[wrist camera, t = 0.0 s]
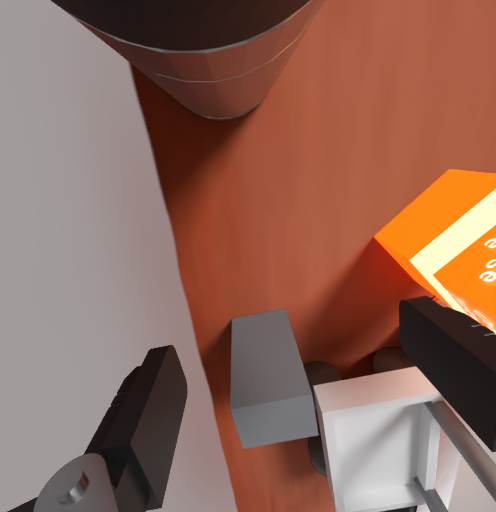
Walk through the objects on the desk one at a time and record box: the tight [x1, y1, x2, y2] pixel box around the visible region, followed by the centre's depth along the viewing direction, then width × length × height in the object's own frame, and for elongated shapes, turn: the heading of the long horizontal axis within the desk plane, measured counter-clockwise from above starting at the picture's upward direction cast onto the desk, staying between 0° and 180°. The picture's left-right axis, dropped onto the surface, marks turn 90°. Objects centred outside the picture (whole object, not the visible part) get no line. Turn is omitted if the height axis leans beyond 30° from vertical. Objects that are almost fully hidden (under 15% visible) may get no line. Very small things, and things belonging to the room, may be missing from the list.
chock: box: [230, 308, 319, 449], centre depth 25 cm, size 4×6×11 cm
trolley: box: [303, 347, 496, 512], centre depth 25 cm, size 18×14×22 cm
